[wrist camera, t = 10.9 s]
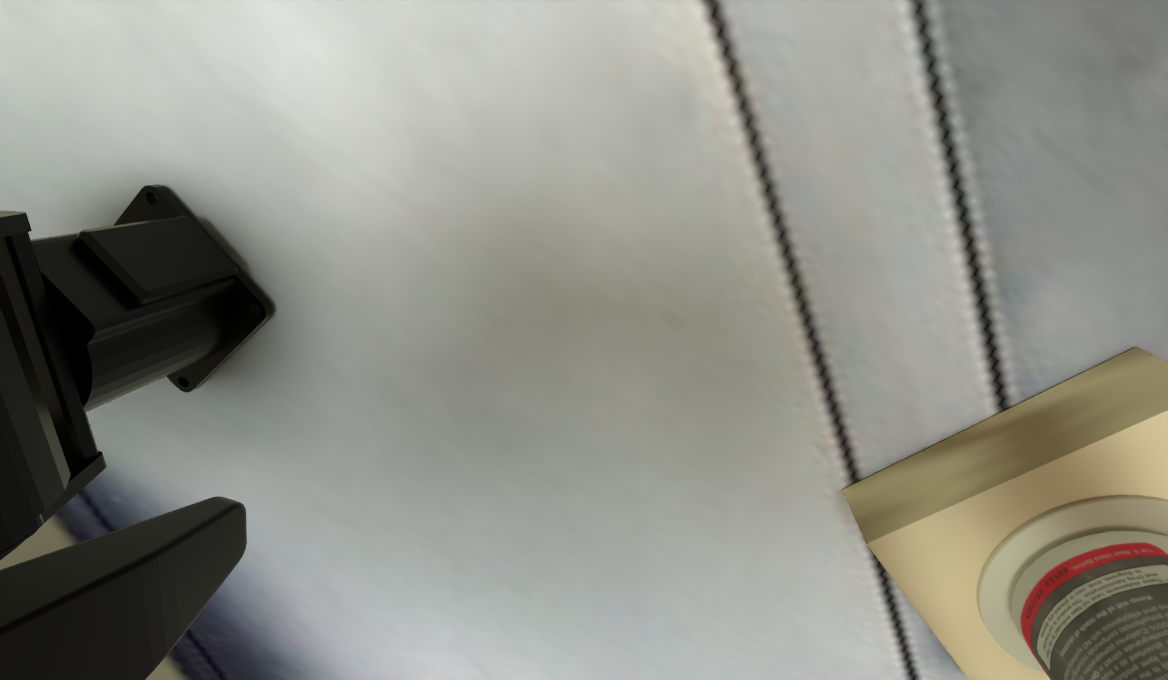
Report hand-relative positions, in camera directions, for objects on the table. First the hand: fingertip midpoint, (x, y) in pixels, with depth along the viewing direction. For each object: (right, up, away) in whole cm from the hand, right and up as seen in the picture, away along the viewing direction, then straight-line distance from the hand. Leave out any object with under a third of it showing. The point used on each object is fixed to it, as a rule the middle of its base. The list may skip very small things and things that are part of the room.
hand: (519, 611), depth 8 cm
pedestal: (+18, -3, +12) cm, 21 cm away
